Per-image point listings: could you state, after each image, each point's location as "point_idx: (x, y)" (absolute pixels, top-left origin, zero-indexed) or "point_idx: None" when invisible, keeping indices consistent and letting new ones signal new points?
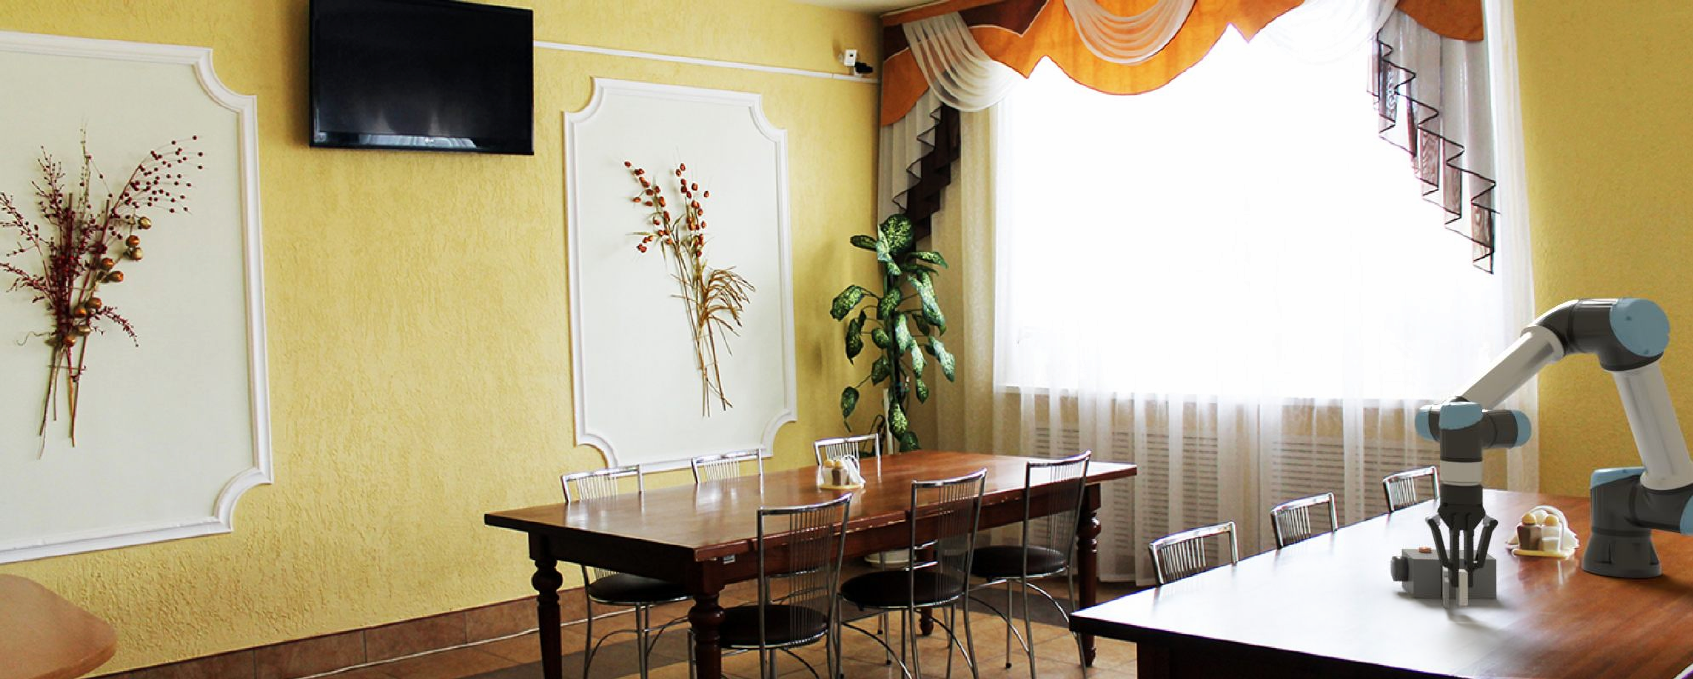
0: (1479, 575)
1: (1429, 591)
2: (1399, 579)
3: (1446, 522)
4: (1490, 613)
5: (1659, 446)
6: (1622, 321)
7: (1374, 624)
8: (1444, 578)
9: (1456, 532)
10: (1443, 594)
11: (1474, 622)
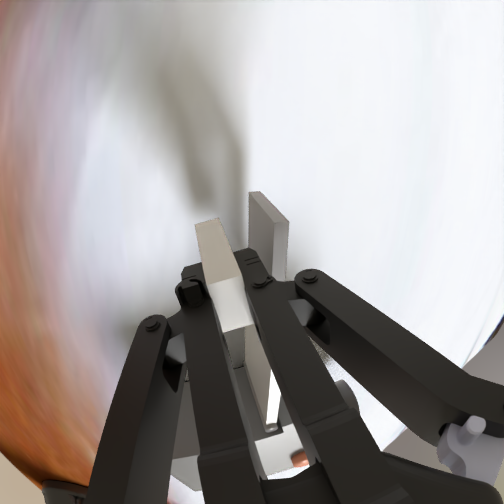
0: (185, 423)
1: None
2: (335, 382)
3: (429, 470)
4: (139, 273)
5: None
6: None
7: (409, 59)
8: None
9: (340, 435)
10: None
11: (173, 143)
